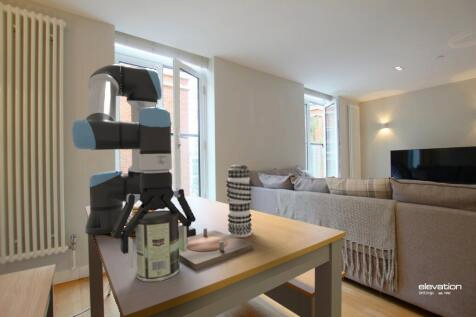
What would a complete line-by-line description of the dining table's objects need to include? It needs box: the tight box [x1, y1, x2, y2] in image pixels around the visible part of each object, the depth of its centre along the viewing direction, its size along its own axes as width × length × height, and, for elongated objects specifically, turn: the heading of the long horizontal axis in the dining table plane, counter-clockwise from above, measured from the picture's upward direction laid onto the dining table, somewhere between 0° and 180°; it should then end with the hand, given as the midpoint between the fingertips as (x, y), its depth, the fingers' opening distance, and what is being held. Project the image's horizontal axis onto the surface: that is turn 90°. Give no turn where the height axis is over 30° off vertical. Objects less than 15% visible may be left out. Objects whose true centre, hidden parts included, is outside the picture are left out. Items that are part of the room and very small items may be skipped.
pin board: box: [179, 227, 254, 271], centre depth 74 cm, size 20×20×4 cm
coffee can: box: [135, 209, 181, 283], centre depth 60 cm, size 10×10×14 cm
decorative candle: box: [225, 164, 253, 238], centre depth 88 cm, size 9×9×25 cm
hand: (158, 257), depth 60 cm, fingers open, 13 cm apart
